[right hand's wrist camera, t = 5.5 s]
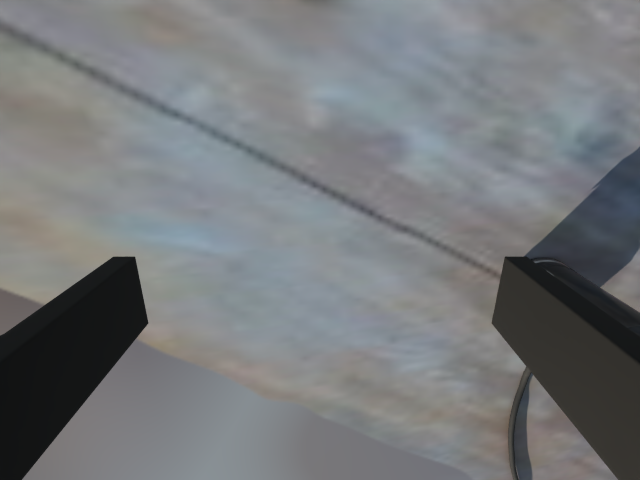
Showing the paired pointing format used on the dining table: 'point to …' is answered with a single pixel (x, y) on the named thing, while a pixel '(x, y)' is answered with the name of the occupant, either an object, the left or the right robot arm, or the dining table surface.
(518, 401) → the left robot arm
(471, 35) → the dining table surface
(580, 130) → the dining table surface
